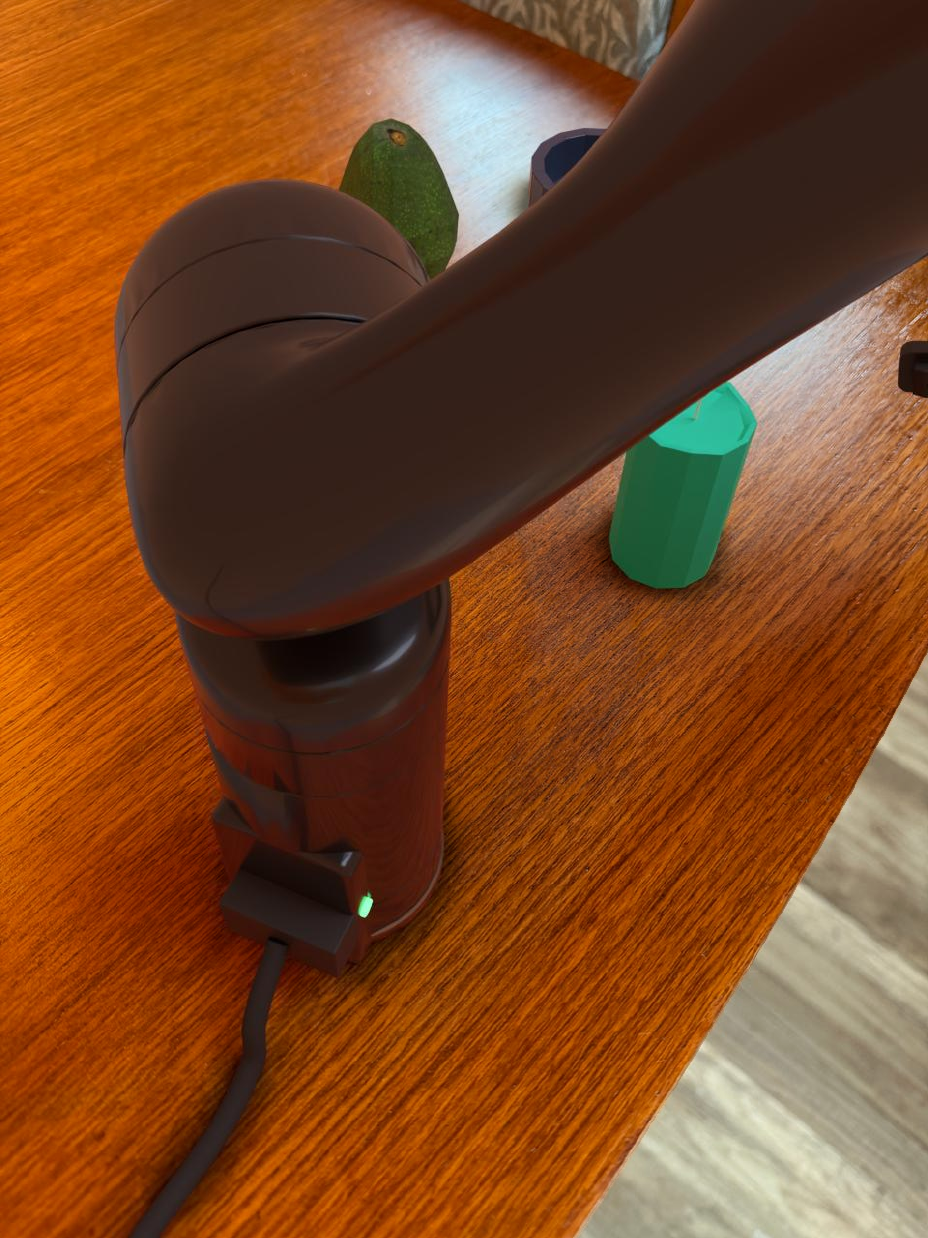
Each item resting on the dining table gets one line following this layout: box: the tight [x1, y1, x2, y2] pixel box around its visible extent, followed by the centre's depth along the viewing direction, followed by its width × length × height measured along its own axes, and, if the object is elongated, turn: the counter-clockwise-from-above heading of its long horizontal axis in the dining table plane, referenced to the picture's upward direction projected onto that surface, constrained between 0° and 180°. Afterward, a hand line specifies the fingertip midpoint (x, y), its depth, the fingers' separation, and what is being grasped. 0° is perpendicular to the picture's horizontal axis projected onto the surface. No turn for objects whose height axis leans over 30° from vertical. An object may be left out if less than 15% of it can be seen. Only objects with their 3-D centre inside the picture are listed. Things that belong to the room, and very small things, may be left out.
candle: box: [608, 381, 758, 590], centre depth 63 cm, size 6×6×12 cm
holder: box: [527, 127, 607, 209], centre depth 85 cm, size 9×9×4 cm
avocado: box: [338, 117, 460, 280], centre depth 75 cm, size 8×8×12 cm
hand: (906, 296), depth 51 cm, fingers open, 8 cm apart
